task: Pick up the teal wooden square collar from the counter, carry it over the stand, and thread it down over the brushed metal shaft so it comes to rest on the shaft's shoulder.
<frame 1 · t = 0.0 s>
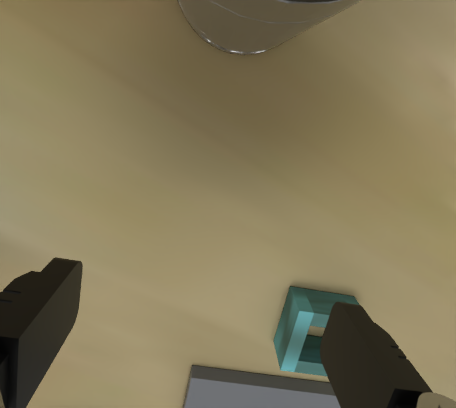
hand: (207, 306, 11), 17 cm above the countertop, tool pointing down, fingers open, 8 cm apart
collar: (313, 319, 32), on the countertop
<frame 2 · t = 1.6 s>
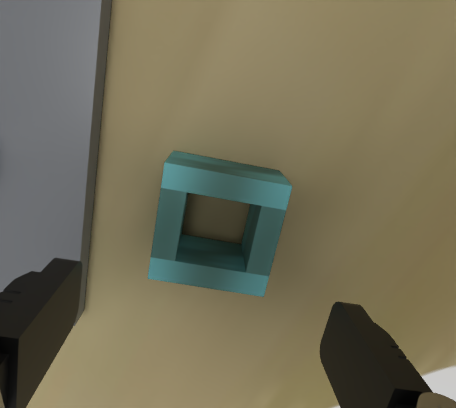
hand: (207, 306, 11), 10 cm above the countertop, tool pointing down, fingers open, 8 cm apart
collar: (217, 211, 20), on the countertop
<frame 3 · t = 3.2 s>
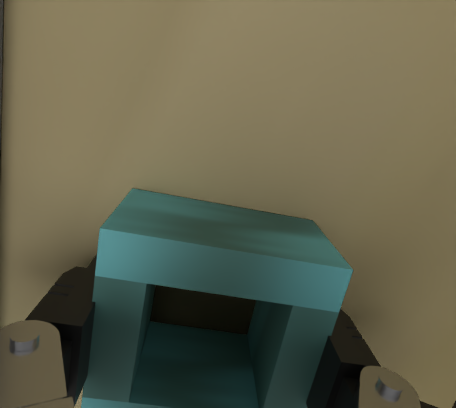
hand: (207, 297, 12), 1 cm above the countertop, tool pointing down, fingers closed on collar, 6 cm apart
collar: (208, 285, 12), on the countertop, touching gripper
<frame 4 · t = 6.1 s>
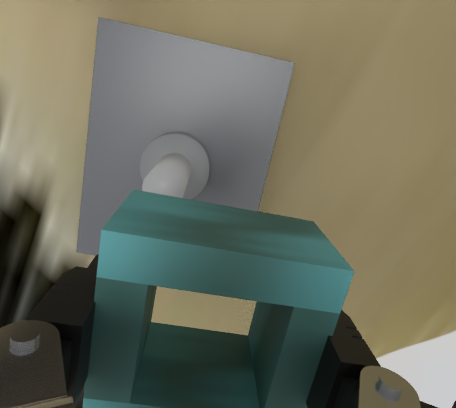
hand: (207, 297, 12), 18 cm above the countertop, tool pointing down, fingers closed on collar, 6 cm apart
collar: (209, 285, 12), point 18 cm above the countertop, touching gripper
shaft stand: (179, 160, 29), on the countertop
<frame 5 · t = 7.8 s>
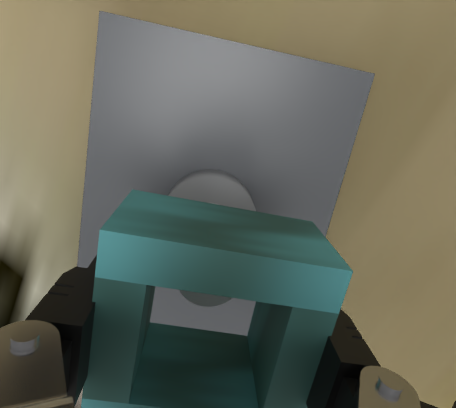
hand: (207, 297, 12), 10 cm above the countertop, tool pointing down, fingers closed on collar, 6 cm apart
collar: (208, 286, 12), point 10 cm above the countertop, touching gripper
shaft stand: (209, 204, 21), on the countertop
when the fingers open (6 cm above the countertop, at t = 9.3 s): collar drops 1 cm, resting on shaft stand.
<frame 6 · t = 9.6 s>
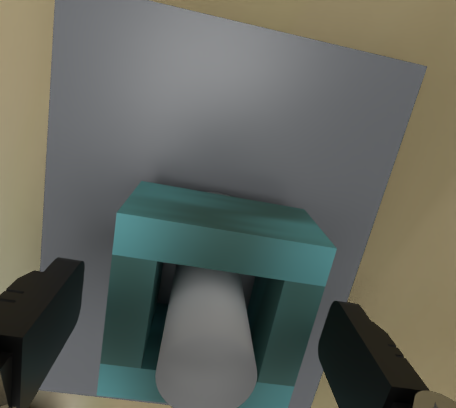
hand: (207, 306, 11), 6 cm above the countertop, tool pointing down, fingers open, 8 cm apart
collar: (210, 269, 14), point 3 cm above the countertop, touching shaft stand
shaft stand: (207, 233, 17), on the countertop
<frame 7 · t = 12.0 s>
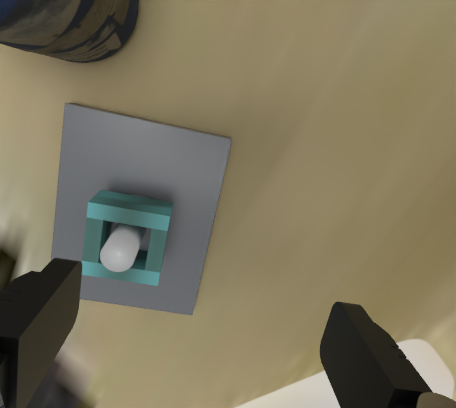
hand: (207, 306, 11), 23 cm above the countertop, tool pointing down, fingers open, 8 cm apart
collar: (132, 229, 30), point 3 cm above the countertop, touching shaft stand
canister: (82, 1, 28), on the countertop
shaft stand: (138, 215, 34), on the countertop
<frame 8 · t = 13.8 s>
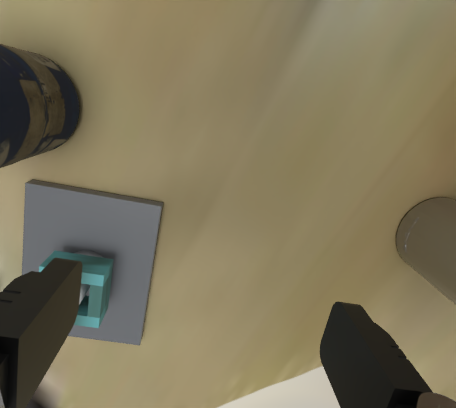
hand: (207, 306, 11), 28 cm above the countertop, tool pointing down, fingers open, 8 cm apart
collar: (82, 280, 38), point 3 cm above the countertop, touching shaft stand
canister: (36, 103, 36), on the countertop
shaft stand: (91, 264, 41), on the countertop
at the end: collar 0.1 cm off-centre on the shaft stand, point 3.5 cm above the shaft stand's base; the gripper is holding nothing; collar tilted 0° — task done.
